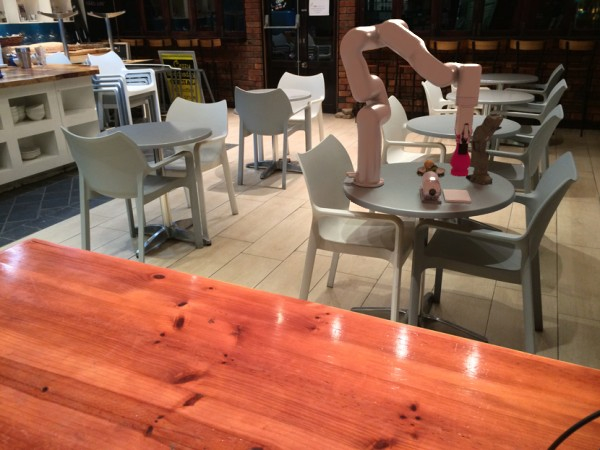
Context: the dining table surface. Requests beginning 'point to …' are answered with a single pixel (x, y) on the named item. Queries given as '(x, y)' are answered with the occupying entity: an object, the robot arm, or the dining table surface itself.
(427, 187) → the motor housing
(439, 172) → the brown orange lobed cluster
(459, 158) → the pepper mill
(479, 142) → the brown tall irregular piece
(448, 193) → the far mat
